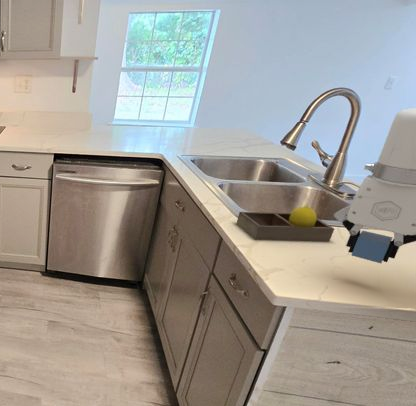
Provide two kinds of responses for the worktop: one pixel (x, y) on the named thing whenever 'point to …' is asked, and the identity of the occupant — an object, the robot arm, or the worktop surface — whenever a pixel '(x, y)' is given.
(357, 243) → the blue block
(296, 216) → the lemon
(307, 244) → the worktop surface
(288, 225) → the tray
